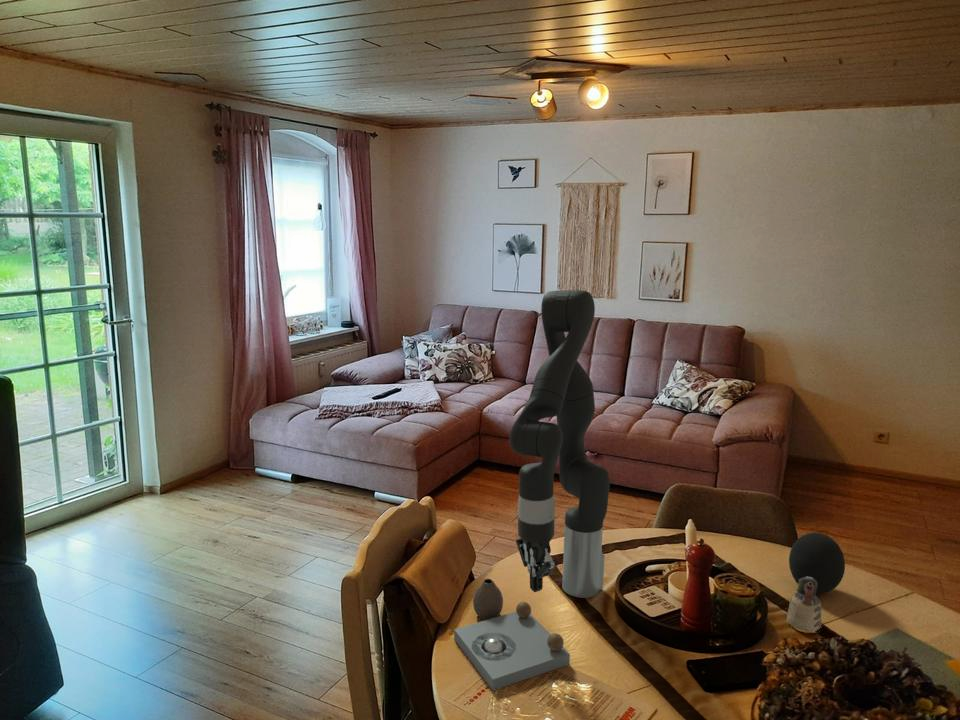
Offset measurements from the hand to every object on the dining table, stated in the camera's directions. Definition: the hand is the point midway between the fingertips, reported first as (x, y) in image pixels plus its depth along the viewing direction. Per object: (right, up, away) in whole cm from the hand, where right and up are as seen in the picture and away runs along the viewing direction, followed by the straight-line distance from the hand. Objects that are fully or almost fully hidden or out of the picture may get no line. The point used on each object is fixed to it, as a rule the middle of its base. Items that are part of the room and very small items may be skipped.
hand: (536, 589), depth 143 cm
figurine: (+62, -12, +11) cm, 64 cm away
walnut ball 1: (-2, -8, +9) cm, 12 cm away
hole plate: (-5, -13, +1) cm, 15 cm away
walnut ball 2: (+4, -10, -3) cm, 11 cm away
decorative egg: (+71, -9, +26) cm, 76 cm away
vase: (-10, -11, +14) cm, 20 cm away
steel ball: (-9, -12, -1) cm, 15 cm away
